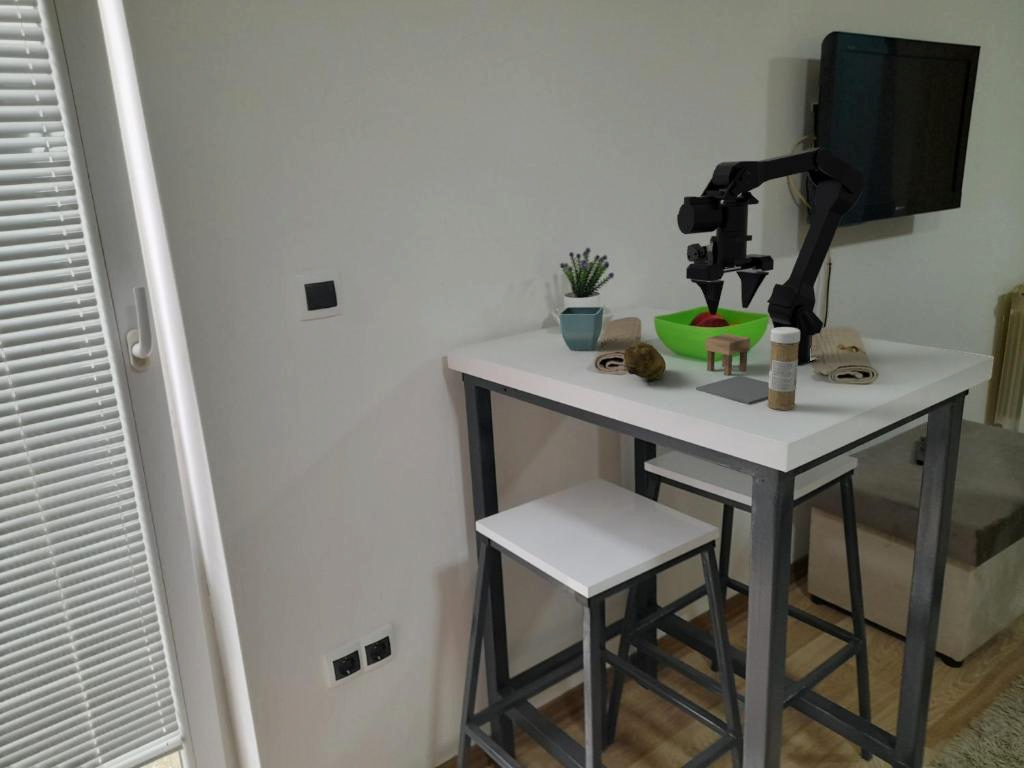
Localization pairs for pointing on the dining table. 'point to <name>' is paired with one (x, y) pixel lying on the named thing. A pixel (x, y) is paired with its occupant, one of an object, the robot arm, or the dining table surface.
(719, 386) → the mat
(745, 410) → the dining table surface
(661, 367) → the potato
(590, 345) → the flower pot
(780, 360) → the spice jar
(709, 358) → the stool
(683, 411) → the dining table surface
